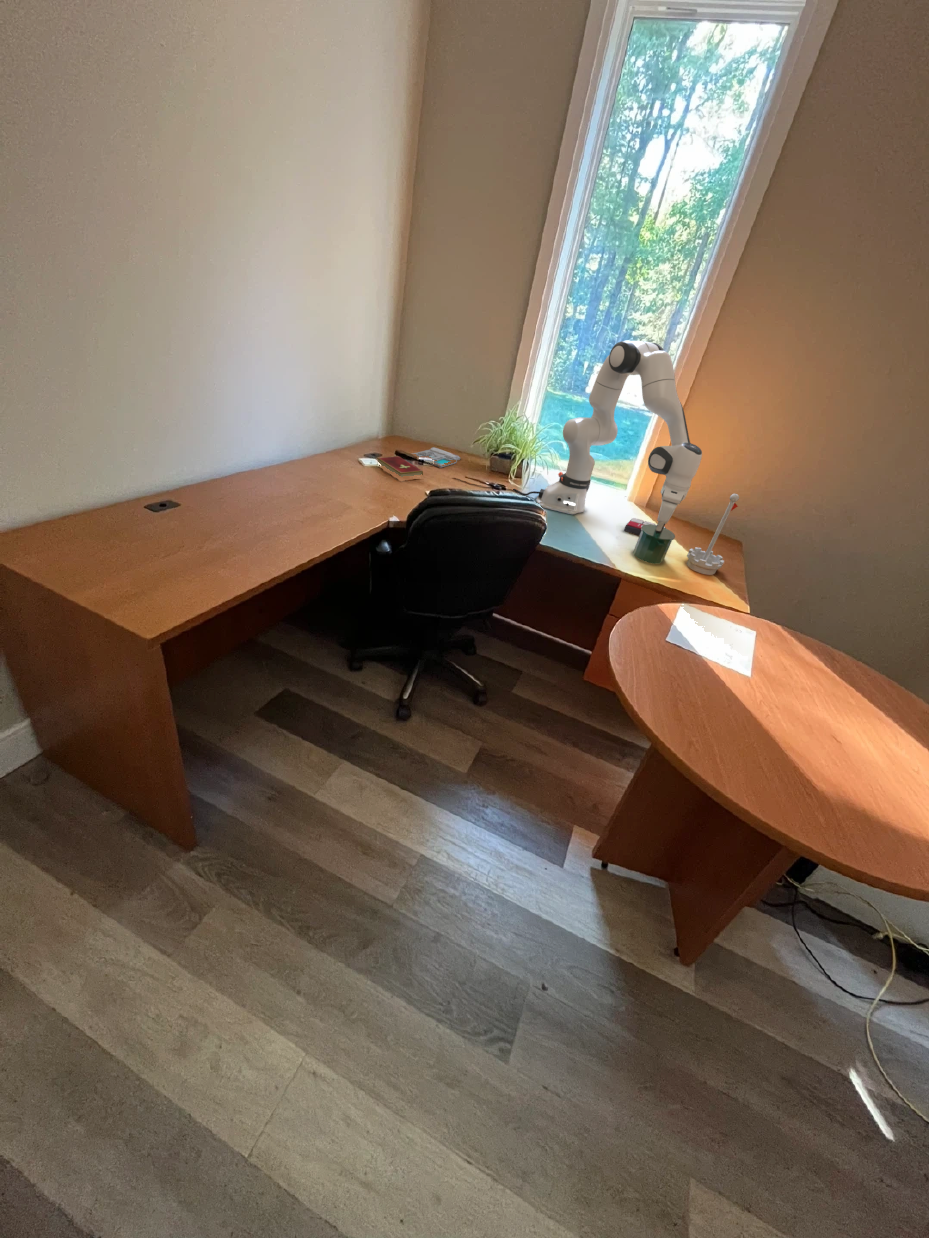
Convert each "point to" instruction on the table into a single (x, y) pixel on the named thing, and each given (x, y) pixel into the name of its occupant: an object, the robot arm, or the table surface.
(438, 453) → the office telephone
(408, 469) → the hardcover book
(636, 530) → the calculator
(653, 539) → the tin
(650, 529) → the tin lid
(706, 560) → the flag stand
